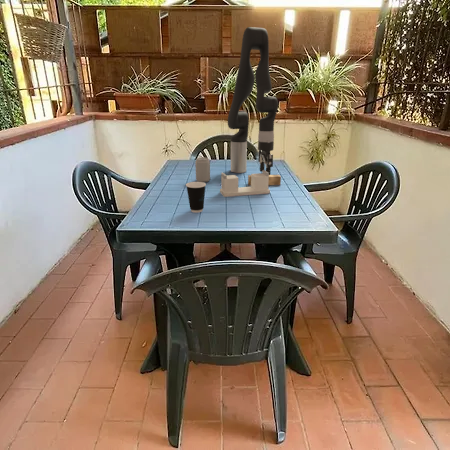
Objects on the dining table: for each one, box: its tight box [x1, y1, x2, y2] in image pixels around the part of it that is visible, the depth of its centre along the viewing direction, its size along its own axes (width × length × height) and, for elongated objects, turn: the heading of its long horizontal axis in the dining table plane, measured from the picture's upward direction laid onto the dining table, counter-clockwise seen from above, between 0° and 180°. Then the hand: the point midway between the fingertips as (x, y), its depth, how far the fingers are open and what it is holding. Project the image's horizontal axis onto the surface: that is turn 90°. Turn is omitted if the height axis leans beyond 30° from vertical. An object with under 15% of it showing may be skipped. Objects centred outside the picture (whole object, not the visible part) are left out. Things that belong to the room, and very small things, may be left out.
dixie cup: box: [185, 181, 207, 214], centre depth 139 cm, size 8×8×11 cm
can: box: [194, 157, 211, 183], centre depth 182 cm, size 8×8×12 cm
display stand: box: [219, 169, 271, 198], centre depth 162 cm, size 22×8×10 cm, turn 104°
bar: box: [247, 174, 282, 186], centre depth 177 cm, size 16×4×4 cm, turn 94°
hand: (265, 173), depth 175 cm, fingers open, 8 cm apart
